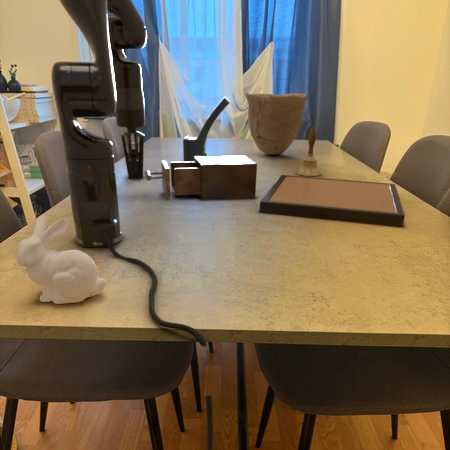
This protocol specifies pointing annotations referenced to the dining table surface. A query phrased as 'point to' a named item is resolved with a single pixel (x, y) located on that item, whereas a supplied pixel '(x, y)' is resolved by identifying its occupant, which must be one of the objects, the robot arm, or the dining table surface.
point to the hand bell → (310, 158)
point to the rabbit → (58, 266)
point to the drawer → (179, 178)
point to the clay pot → (274, 120)
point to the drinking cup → (140, 154)
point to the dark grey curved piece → (202, 135)
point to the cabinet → (227, 177)
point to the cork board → (334, 200)
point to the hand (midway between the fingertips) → (134, 174)
